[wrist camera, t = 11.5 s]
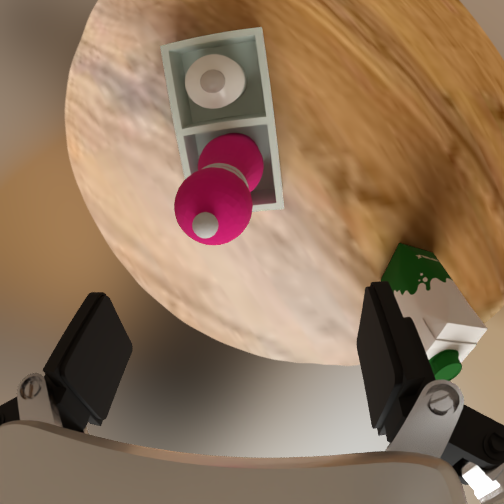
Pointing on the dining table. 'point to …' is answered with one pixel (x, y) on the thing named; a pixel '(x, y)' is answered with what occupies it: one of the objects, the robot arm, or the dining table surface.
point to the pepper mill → (220, 190)
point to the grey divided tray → (230, 116)
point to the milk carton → (434, 309)
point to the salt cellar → (215, 81)
